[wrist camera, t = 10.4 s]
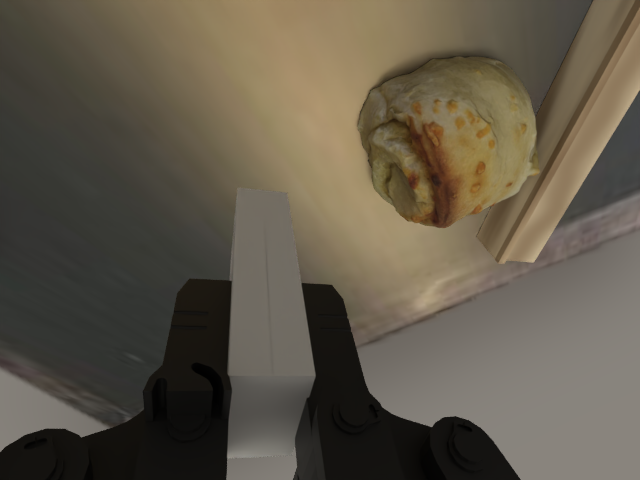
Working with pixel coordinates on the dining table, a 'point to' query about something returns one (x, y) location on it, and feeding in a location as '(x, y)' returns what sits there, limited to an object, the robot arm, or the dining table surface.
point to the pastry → (449, 139)
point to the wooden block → (571, 129)
